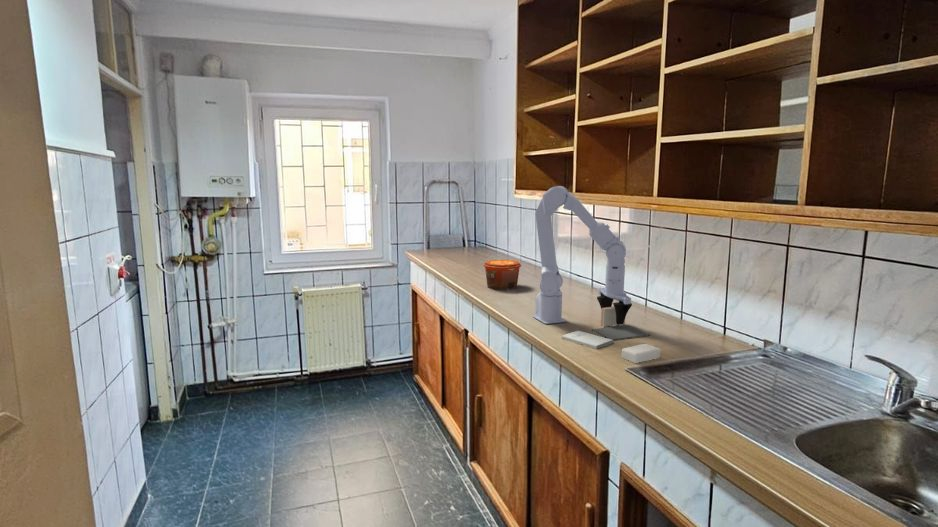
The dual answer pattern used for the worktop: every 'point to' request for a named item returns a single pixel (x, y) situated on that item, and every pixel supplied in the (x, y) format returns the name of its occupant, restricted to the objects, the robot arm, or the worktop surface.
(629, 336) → the mat
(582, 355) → the worktop surface
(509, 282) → the food container
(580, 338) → the external hard drive
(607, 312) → the tile
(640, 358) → the soap
